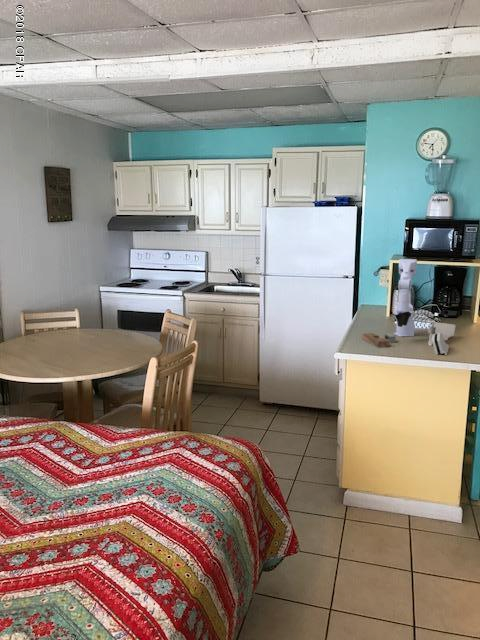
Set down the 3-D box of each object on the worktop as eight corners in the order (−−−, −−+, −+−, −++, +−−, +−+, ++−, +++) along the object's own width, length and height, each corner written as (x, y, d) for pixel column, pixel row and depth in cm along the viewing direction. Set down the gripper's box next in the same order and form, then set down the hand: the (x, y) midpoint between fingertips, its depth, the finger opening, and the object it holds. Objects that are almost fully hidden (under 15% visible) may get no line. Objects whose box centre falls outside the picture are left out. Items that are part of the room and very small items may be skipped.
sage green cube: (391, 340, 290) (391, 333, 289) (394, 342, 286) (395, 335, 285) (384, 341, 289) (384, 334, 288) (388, 343, 285) (388, 335, 284)
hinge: (446, 355, 261) (440, 336, 260) (436, 357, 263) (430, 338, 262) (449, 347, 275) (443, 329, 275) (439, 349, 278) (434, 331, 277)
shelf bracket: (424, 344, 282) (428, 321, 281) (444, 345, 300) (448, 323, 299) (434, 346, 278) (438, 322, 278) (453, 347, 296) (457, 325, 295)
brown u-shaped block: (373, 338, 295) (373, 333, 294) (390, 346, 278) (390, 340, 277) (361, 339, 293) (362, 333, 292) (377, 347, 276) (378, 341, 275)
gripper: (404, 298, 292) (403, 322, 295) (389, 301, 283) (388, 326, 286) (416, 300, 287) (414, 324, 290) (401, 303, 278) (399, 328, 280)
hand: (402, 325), depth 287 cm, fingers open, 4 cm apart
